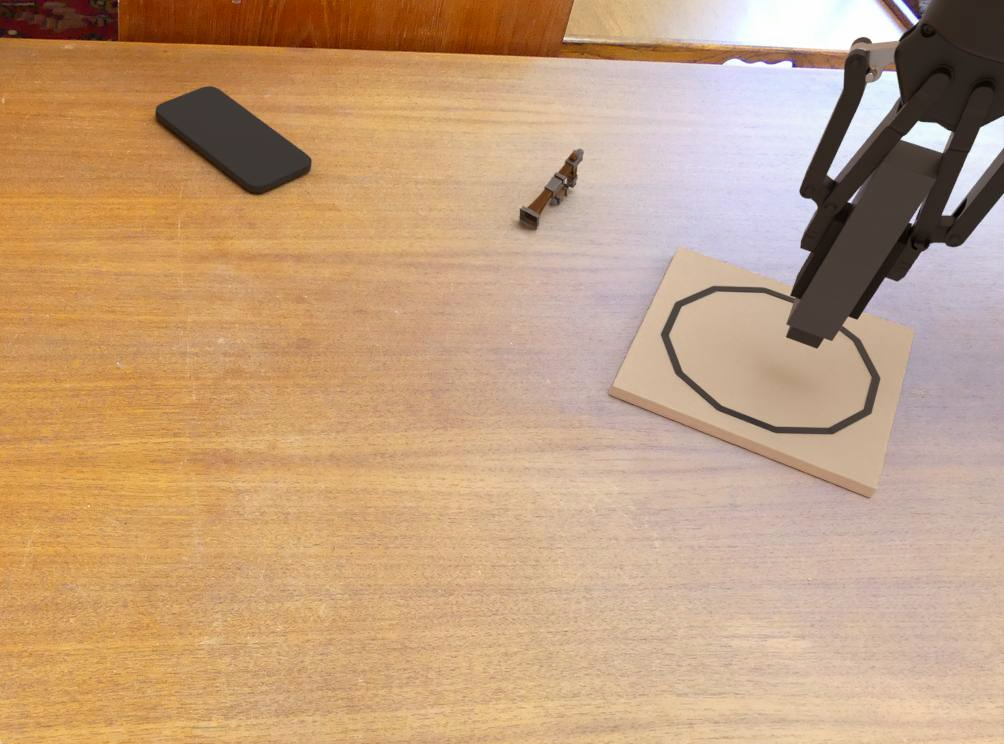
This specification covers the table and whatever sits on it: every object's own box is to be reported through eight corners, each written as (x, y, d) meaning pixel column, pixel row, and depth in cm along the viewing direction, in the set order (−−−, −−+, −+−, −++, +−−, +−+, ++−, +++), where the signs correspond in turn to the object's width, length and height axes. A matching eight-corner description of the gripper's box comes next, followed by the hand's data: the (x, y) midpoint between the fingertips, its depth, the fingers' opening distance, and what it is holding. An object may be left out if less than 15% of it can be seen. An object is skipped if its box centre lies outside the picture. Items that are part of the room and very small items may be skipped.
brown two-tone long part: (587, 180, 100) (591, 147, 96) (535, 246, 99) (537, 216, 95) (570, 171, 101) (573, 138, 97) (518, 237, 100) (519, 206, 96)
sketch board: (909, 339, 92) (916, 328, 91) (870, 498, 81) (878, 488, 80) (674, 254, 96) (679, 244, 95) (607, 394, 85) (612, 384, 84)
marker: (831, 329, 84) (943, 152, 72) (822, 355, 82) (937, 179, 70) (786, 313, 85) (890, 136, 73) (777, 339, 83) (882, 161, 71)
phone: (254, 189, 96) (149, 107, 102) (254, 198, 97) (149, 115, 103) (317, 161, 99) (212, 82, 105) (316, 169, 100) (211, 91, 106)
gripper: (870, -51, 61) (703, 285, 80) (1190, 40, 58) (936, 370, 77) (890, -100, 66) (727, 231, 84) (1190, -18, 62) (949, 308, 81)
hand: (827, 296), depth 80 cm, fingers closed on marker, 3 cm apart
